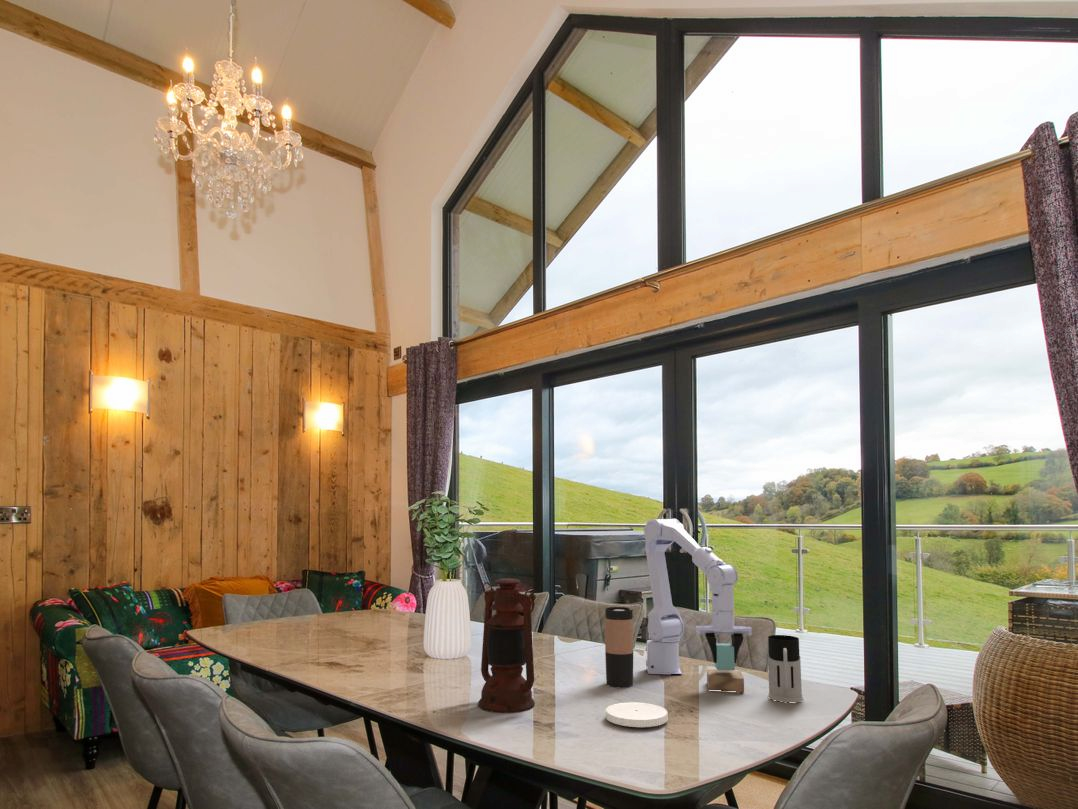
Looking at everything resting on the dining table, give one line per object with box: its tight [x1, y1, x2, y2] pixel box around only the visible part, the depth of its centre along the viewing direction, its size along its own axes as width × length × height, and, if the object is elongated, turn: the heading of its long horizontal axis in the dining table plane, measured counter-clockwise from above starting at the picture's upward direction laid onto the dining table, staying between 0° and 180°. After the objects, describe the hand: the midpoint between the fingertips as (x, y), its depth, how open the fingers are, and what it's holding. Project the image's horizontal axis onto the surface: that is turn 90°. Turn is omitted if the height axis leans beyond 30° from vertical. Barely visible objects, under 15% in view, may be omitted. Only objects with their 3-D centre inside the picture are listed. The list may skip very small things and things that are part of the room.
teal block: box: [714, 642, 736, 671], centre depth 199 cm, size 4×4×6 cm
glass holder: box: [767, 634, 805, 703], centre depth 186 cm, size 9×14×15 cm, turn 164°
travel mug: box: [604, 606, 634, 688], centre depth 202 cm, size 8×8×20 cm
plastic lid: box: [605, 701, 669, 728], centre depth 169 cm, size 14×14×2 cm
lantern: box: [477, 577, 537, 714], centre depth 183 cm, size 17×14×30 cm
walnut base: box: [706, 668, 745, 693], centre depth 198 cm, size 9×9×4 cm
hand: (724, 662), depth 199 cm, fingers closed on teal block, 4 cm apart
